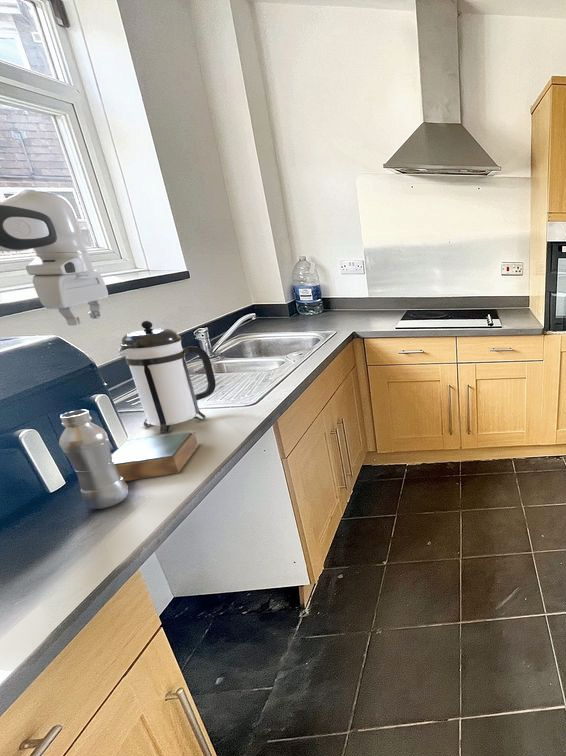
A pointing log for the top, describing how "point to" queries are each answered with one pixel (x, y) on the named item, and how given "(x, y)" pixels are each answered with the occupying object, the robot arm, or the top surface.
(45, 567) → the top surface
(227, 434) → the top surface
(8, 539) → the top surface
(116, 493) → the plastic bottle
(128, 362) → the coffee press
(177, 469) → the riser
